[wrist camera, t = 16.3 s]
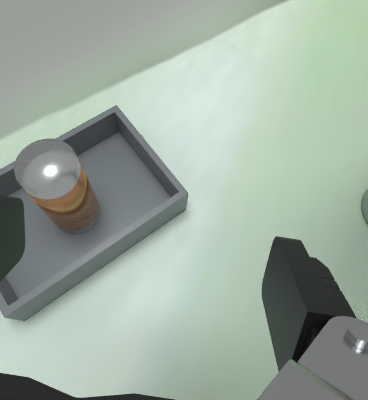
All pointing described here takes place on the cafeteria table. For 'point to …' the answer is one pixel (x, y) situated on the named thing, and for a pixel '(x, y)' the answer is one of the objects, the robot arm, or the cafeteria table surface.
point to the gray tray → (108, 221)
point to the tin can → (58, 184)
